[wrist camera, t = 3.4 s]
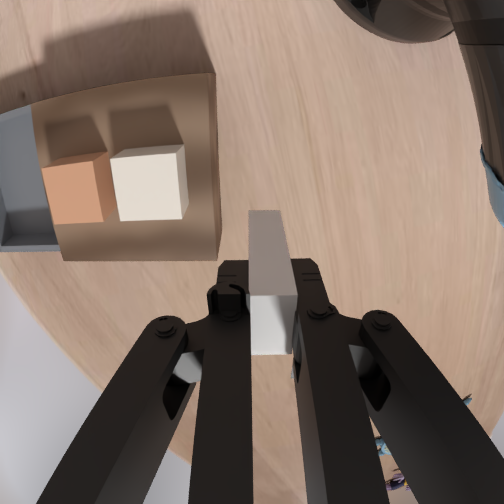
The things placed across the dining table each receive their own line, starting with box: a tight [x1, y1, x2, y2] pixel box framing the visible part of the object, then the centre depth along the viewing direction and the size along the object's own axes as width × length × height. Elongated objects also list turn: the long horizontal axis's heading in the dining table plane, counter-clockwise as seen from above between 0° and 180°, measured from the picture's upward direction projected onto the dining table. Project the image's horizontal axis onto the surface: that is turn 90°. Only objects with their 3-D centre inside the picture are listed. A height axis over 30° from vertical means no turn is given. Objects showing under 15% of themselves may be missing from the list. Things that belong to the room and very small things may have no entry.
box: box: [0, 104, 60, 252], centre depth 28 cm, size 16×12×4 cm
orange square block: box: [42, 151, 117, 225], centre depth 24 cm, size 5×5×3 cm
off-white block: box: [110, 144, 189, 221], centre depth 24 cm, size 5×5×3 cm
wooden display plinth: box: [31, 73, 222, 261], centre depth 28 cm, size 16×16×6 cm
